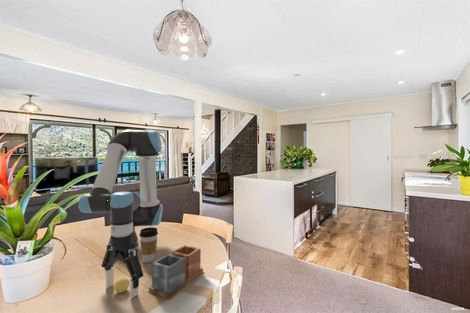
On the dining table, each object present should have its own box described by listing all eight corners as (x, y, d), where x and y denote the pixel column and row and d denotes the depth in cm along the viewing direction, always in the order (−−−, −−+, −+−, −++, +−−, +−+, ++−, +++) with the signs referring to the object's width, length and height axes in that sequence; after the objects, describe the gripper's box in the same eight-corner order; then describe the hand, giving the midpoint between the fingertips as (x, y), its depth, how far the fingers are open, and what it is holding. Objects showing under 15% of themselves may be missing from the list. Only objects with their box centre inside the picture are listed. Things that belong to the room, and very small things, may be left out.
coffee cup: (146, 265, 104) (146, 233, 104) (135, 260, 109) (135, 229, 109) (161, 258, 111) (161, 228, 111) (150, 254, 116) (150, 225, 116)
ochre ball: (111, 293, 83) (111, 279, 83) (123, 286, 88) (123, 273, 88) (120, 297, 81) (120, 283, 81) (132, 289, 86) (132, 276, 86)
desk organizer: (148, 291, 85) (148, 263, 84) (184, 266, 103) (184, 243, 103) (169, 299, 80) (169, 269, 80) (203, 271, 99) (203, 248, 99)
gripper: (91, 231, 86) (91, 287, 87) (136, 243, 75) (136, 307, 76) (109, 226, 93) (109, 277, 93) (154, 236, 82) (153, 294, 82)
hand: (121, 291), depth 84 cm, fingers open, 13 cm apart
